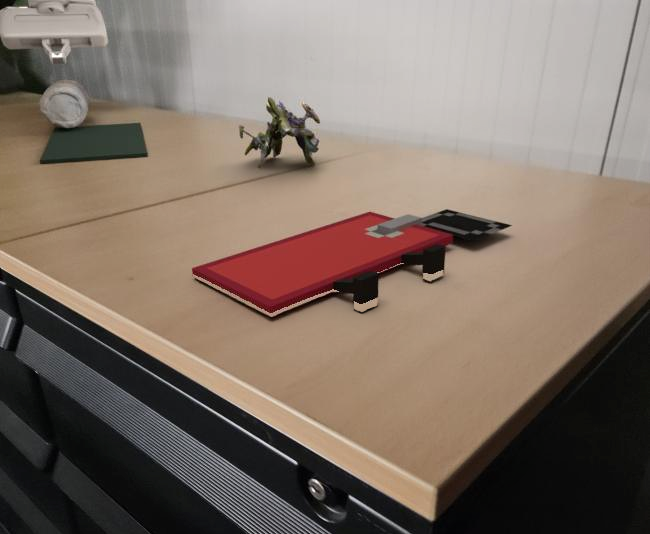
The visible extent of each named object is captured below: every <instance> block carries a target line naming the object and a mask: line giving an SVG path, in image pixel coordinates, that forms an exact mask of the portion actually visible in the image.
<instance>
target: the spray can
mask: <svg viewBox="0 0 650 534" xmlns="http://www.w3.org/2000/svg"><path fill="white" fill-rule="evenodd" d="M38 103H39V112H40V113H41V115H42V116H43V117H44V118H45V119H46V120H47V121H48V122H49V123H50V124H51V125H52V126H54V127H61V128H74V127H76V126H81V124H83V123H84V122H85V120H86V118H87V115H88V112H89V108H90V105H91V99H90V96H89V94H88V91H87V90H86V89H85V87H83V85H82V84H81V83H80V82H78V81H77V80H74V79H72V78H62V79H59V80H57V81H54V82H53V83H52V84H51V85H50V86H49V87H48V88H46V90H45V91H44V92H43V94H42V96H41V98H40V99H39V101H38Z"/></svg>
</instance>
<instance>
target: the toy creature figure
mask: <svg viewBox="0 0 650 534" xmlns="http://www.w3.org/2000/svg"><path fill="white" fill-rule="evenodd" d="M301 106H302V108H303V109H304V111H305V114H304V116H303V117H298V116H296V115H295V114H294V113H293V112H292V111H291V110H290V109H289V108H287V107H286V106H285V105H284V104H283V102H281V101H280V100H279V101H278V104H277V103H276V100H274V98H273V97H271V96H270V97H269V96H268V97H267V103H266V105H265V108H266V111H267V112H268V114H270V116H271V117H272V120H271V122H270V121H267V122H266V124H267V129H266V130H265V133H263V132H258V133H257V136H254V135H252V134H251V133H249V132H248V131H246V130H244V129H245V126H244V125H243V124H238V129H239V138H240V139H242V140H243V139H244V134H245V135H247V136H249V137H250V138H252V140H251V142H250V143H249V145H248V146H247V148H245V151H244V156H247V155H248V154H249V153H250V152H251V151H252V150H254V151H258V149H259V150H260V160H259V164H258V167H257V168H258V169H260V167H261V166H262V165H263V162H264V160H265V159H267V157H269V156H270V155H271V154H272V157H273V158H276V157H278V156H280V155H281V152H282V149H283V139H284V138H285V137H286V136H289V137H291V138H292V137H293V138H294V139H295V140H296V144H297V145H298V147H299V148H300V149H301V150H302V153H303V156H304V159H305V161H306V163H307V164H308V165H309V166H310V165H311V166H314V165H316V161H315V159H314V157H313V153H314V154H315V153H317V152H318V151H319V150H320V149H319V147H318V146H319V143H320V140H319V138H317V137H316V135H315V133H314V132H312V130H310V129H309V128H308V127H307V126H306V120H307V119H312V120H313V121H314V122H315V123H316V124H320V123H321V121H320V117H319V116H318V115H317V113H316V112H315V110H314V109H313V108H312V107H310V106H309V105H308V104H305V102H302V103H301Z"/></svg>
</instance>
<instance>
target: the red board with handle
mask: <svg viewBox="0 0 650 534" xmlns="http://www.w3.org/2000/svg"><path fill="white" fill-rule="evenodd" d="M512 226H513V225H512V224H509V223H505V222H501V221H496V220H493V219H489V218H484V217H480V216H476V215H472V214H469V213H463V212H460V211H456V210H451V209H448V208H446V209H444V210H440V211H437V212H435V213H432V214H429V215H426V216H423V217H420V216H417V215H414V214H413V215H412V214H409V213H407V214H404V215H402V216H401V215H400V216H399V217H396V218H394V217H392V216H391V217H390V216H388V215H383V214H381V213H376V212H374V211H367V212H364V213H360V214H358V215H354V216H350V217H348V218H345V219H342V220H339V221H336V222H332V223H329V224H327V225H323V226H320V227H317V228H314V229H310V230H308V231H304V232H301V233H298V234H294V235H292V236H288V237H285V238H282V239H279V240H275V241H272V242H269V243H267V244H263V245H261V246H256V247H255V248H251V249H247V250H245V251H241V252H238V253H235V254H231V255H229V256H225V257H223V258H219V259H217V260H213V261H210V262H207V263H204V264H200V265H197V266H193V267H192V268H191V272H192V275H193V274H194V275H196V276H198V277H201V278H203V279H205V280H207V281H209V282H211V283H212V284H215V285H217V286H219V287H221V288H222V289H225V290H227V291H229V292H230V293H233V294H235V295H237V296H239V297H240V298H242V299H244V300H246V301H249V302H251V303H252V304H254V305H256V306H257V307H259V308H261V309H264V310H265V311H267V312H269V313H273V312H275V311H277V310H280V309H282V308H284V307H288V306H290V305H292V304H295V303H297V302H300V301H302V300H305V299H307V298H310V297H313V296H315V295H318V294H321V293H324V292H327V291H330V290H332V289H334V290H337V291H339V292H342V293H341V294H346V295H347V294H349V295H352V302H353V301H355V302H357V303H359V304H363V303H366V302H368V301H370V300H373V299H375V298H377V297H378V298H379V274H378V273H377V272H381V271H383V270H385V269H389V268H390V267H393V266H395V265H397V264H400V263H404V264H407V265H406V266H422V268H421V273H422V272H423V273H428V274H434V273H436V272H438V271H441V270H444V271H445V263H446V248H447V246H446V245H448V244H451V243H453V241H454V237H456V238H457V237H458V238H461V239H464V240H468V241H471V242H477V241H479V240H482V239H484V238H486V237H488V236H491V235H493V234H496V233H498V232H500V231H501V232H502V231H503V230H505V229H508V228H510V227H512ZM451 245H452V244H451ZM448 246H449V245H448Z"/></svg>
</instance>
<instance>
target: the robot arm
mask: <svg viewBox="0 0 650 534" xmlns="http://www.w3.org/2000/svg"><path fill="white" fill-rule="evenodd" d="M27 2H28V5H18V6H11V5H7V6H4V8H1V9H0V39H1V42H2V44H3V46H4V47H5V48H7V49H8V50H34V49H35V50H38V49H41V50H42V49H43V52H44V53H45V54H46V55H47V57H48V58H49V61H50V64H51V65H57V64H58V65H59V64H60V65H61V64H62V65H63V64H67V57H68V56H69V54H70V53H71V51H72V49H73V48H74V49H75V48H77V49H80V48H105V47H106V46H107V45H108V43H109V40H108V38H109V37H108V32H107V28H106V23H105V20H104V17H103V15H102V11H101V10H100V9H99V8H98V6H97V2H96V0H27ZM53 49H61V50H53Z"/></svg>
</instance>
